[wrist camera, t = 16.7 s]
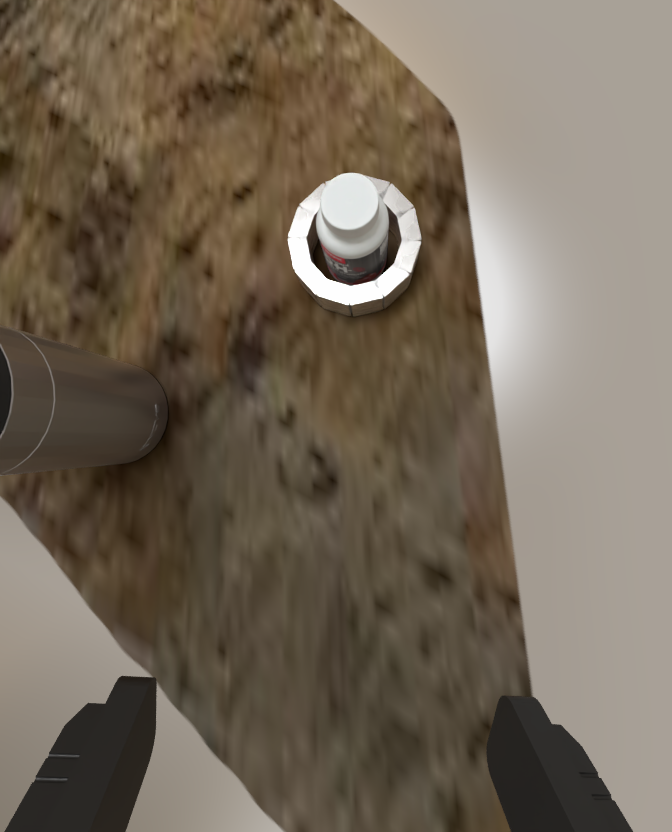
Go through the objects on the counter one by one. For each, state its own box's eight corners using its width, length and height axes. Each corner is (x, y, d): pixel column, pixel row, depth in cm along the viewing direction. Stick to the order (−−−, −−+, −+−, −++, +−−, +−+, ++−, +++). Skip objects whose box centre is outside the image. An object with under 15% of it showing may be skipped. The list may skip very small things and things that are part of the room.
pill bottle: (324, 287, 40) (305, 237, 30) (329, 227, 40) (312, 159, 30) (384, 290, 39) (386, 241, 29) (390, 230, 39) (393, 162, 29)
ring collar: (281, 295, 40) (272, 281, 36) (319, 185, 40) (313, 161, 37) (393, 330, 39) (395, 319, 35) (431, 216, 39) (436, 195, 35)
